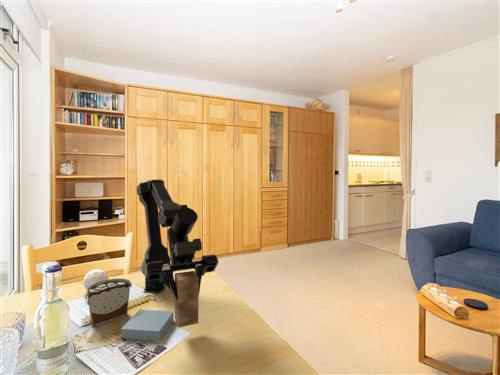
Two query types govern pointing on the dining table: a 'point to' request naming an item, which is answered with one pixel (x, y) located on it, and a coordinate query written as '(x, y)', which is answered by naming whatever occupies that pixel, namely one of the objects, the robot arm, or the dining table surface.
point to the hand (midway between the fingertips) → (187, 297)
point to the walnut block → (186, 298)
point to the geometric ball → (94, 277)
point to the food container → (108, 300)
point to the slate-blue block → (147, 325)
